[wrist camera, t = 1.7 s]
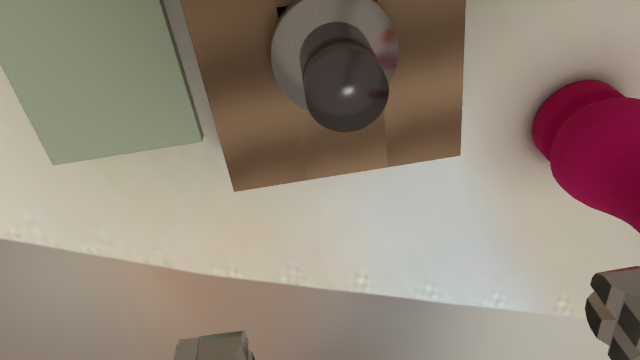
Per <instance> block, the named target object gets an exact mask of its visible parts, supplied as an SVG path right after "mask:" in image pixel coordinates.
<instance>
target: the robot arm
mask: <svg viewBox="0 0 640 360" xmlns="http://www.w3.org/2000/svg"><path fill="white" fill-rule="evenodd" d="M590 285H591V287H592V288H593V289H594V292H593V293H592V294H591V295H590V296H589V297H588V298H587V300H586V306H585V311H586V317H587V321H588V323H589V326H590V328H591V330H592V331H593V333H594V335H595V336H596V338H598V339H599V340H601V341H602V342H604V343H606V344H608V345H609V349H608V356H609V357H610V359H611V360H640V266H639V267H638V266H634V267H629V268H623V269H617V270H611V271H606V272H600V273H596V274H595V275H594V276H593V277H592V280H591V284H590ZM174 360H255V359H254V356H253V353H252V352H251V351H250V350H248V338H247V335H246V332H245V331H237V332H230V333H222V334H214V335H207V336H200V337H194V338H187V339H180V340H179V342H178V344H177V346H176V350H175V355H174Z"/></svg>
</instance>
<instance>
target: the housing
mask: <svg viewBox="0 0 640 360" xmlns="http://www.w3.org/2000/svg"><path fill="white" fill-rule="evenodd" d="M180 1H181V5H182V8H183V12H184V15H185V19H186V22H187V26H188V30H189V33H190V37H191V40H192V44H193V47H194V51H195V54H196V58H197V61H198V65H199V68H200V72H201V76H202V79H203V83H204V86H205V90H206V93H207V97H208V100H209V104H210V107H211V111H212V115H213V118H214V122H215V125H216V129H217V132H218V136H219V139H220V143H221V146H222V150H223V153H224V157H225V161H226V164H227V168H228V171H229V175H230V178H231V182H232V185H233V189H234V192H236V191H242V190H248V189H254V188H261V187H267V186H273V185H279V184H286V183H292V182H298V181H304V180H310V179H317V178H323V177H329V176H335V175H342V174H348V173H354V172H360V171H367V170H373V169H379V168H385V167H392V166H398V165H404V164H410V163H416V162H423V161H429V160H435V159H441V158H448V157H454V156H460V149H461V120H462V92H463V63H464V34H465V5H466V0H375V1H376V2H377V3H379V5H380V6H381V7H382V8H383V10H384V11H385V13H386V14H387V16H388V17H389V19H390V20H391V22H392V24H393V26H394V29H395V31H396V34H397V38H398V46H399V55H398V62H397V66H396V69H395V72H394V75H393V77H392V79H391V81H390V82H389V84H388V85H389V97H388V101H387V104H386V106H385V108H384V110H383V112H382V113H381V115H380V116H379V117H378V118H377V119H376V120H375V121H374V122H372V123H371V124H370V125H368V126H366V127H364V128H362V129H360V130H357V131H352V132H336V131H332V130H329V129H327V128H325V127H323V126H321V125H320V124H319V123H317V122H316V121H315V120H314V118H313V117H312V116H311V114H310V112H309V111H308V110H305V109H303V108H301V107H300V106H298V105H296V104H295V103H294V102H292V101H291V100H290V99H289V98H288V97H287V96H286V95H285V94H284V92H283V91H282V90H281V88H280V87H279V85H278V83H277V81H276V79H275V76H274V73H273V69H272V63H271V39H272V34H273V31H274V27H275V25H276V23H277V20H278V19H279V17H280V11H279V7H283V6H288V5H289V4H290V3H291V2H292V1H293V0H180Z"/></svg>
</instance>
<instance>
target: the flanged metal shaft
mask: <svg viewBox="0 0 640 360" xmlns="http://www.w3.org/2000/svg"><path fill="white" fill-rule="evenodd" d="M398 55H399V46H398V38H397V34H396V31H395V29H394V26H393V24H392V22H391V20H390V19H389V17H388V16H387V14H386V13H385V11H384V10H383V8H382V7H381V6H380V5H379V3H377V2H376V1H375V0H293V1H292V2H291V3H290V4H289V5H288V6H287V7H286V8H285V10H284V11H283V12H282V14H281V15H280V17H279V19H278V20H277V23H276V25H275V27H274V31H273V34H272V39H271V63H272V69H273V73H274V76H275V79H276V81H277V83H278V85H279V87H280V88H281V90H282V91H283V92H284V94H285V95H286V96H287V97H288V98H289V99H290V100H291V101H292V102H294V103H295V104H296V105H298V106H300V107H301V108H303V109H305V110H308V111H309V112H310V114H311V116H312V117H313V118H314V120H315V121H316V122H317V123H319V124H320V125H321V126H323V127H325V128H327V129H329V130H332V131H336V132H352V131H357V130H360V129H362V128H364V127H366V126H368V125H370V124H371V123H372V122H374V121H375V120H376V119H377V118H378V117H379V116H380V115H381V113H382V112H383V110H384V108H385V106H386V104H387V101H388V97H389V85H388V84H389V82H390V81H391V79H392V77H393V75H394V72H395V69H396V66H397V62H398Z"/></svg>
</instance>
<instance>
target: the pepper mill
mask: <svg viewBox="0 0 640 360" xmlns="http://www.w3.org/2000/svg"><path fill="white" fill-rule="evenodd" d="M533 139H534V142H535V144H536V146H537V148H538V149H539V150H540V151H541V152H542V154H543V155H544V156H545V157H546V158H547V159H548V160H549V161H550V165H551V170H552V173H553V176H554V178H555V179H556V181H557V182H558V184H559V185H560V186H561V187H562V188H563V189H564V190H565V191H566V192H567V193H568V194H570V195H571V196H572V197H573V198H575V199H577V200H578V201H580V202H582V203H583V204H585V205H587V206H589V207H591V208H594V209H597V210H599V211H602V212H605V213H608V214H610V215H612V216H615V217H617V218H619V219H622V220H623V221H625V222H627V223H628V224H630V225H631V226H632V227H633V228H634V229H636V230H637V231H638V232H639V233H640V99H635V98H628V97H625V96H623V95H622V94H621V93H619V92H618V91H617V90H615V89H614V88H613V87H611V86H610V85H608V84H606V83H604V82H600V81H594V80H588V81H580V82H577V83H574V84H571V85H568V86H566V87H564V88H563V89H561V90H559V91H558V92H556V93H555V94H554V95H552V96H551V97H550V98H549V99H548V100H547V101H546V102H545V103H544V105H543V106H542V108H541V109H540V111H539V112H538V114H537V116H536V119H535V122H534V125H533Z"/></svg>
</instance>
